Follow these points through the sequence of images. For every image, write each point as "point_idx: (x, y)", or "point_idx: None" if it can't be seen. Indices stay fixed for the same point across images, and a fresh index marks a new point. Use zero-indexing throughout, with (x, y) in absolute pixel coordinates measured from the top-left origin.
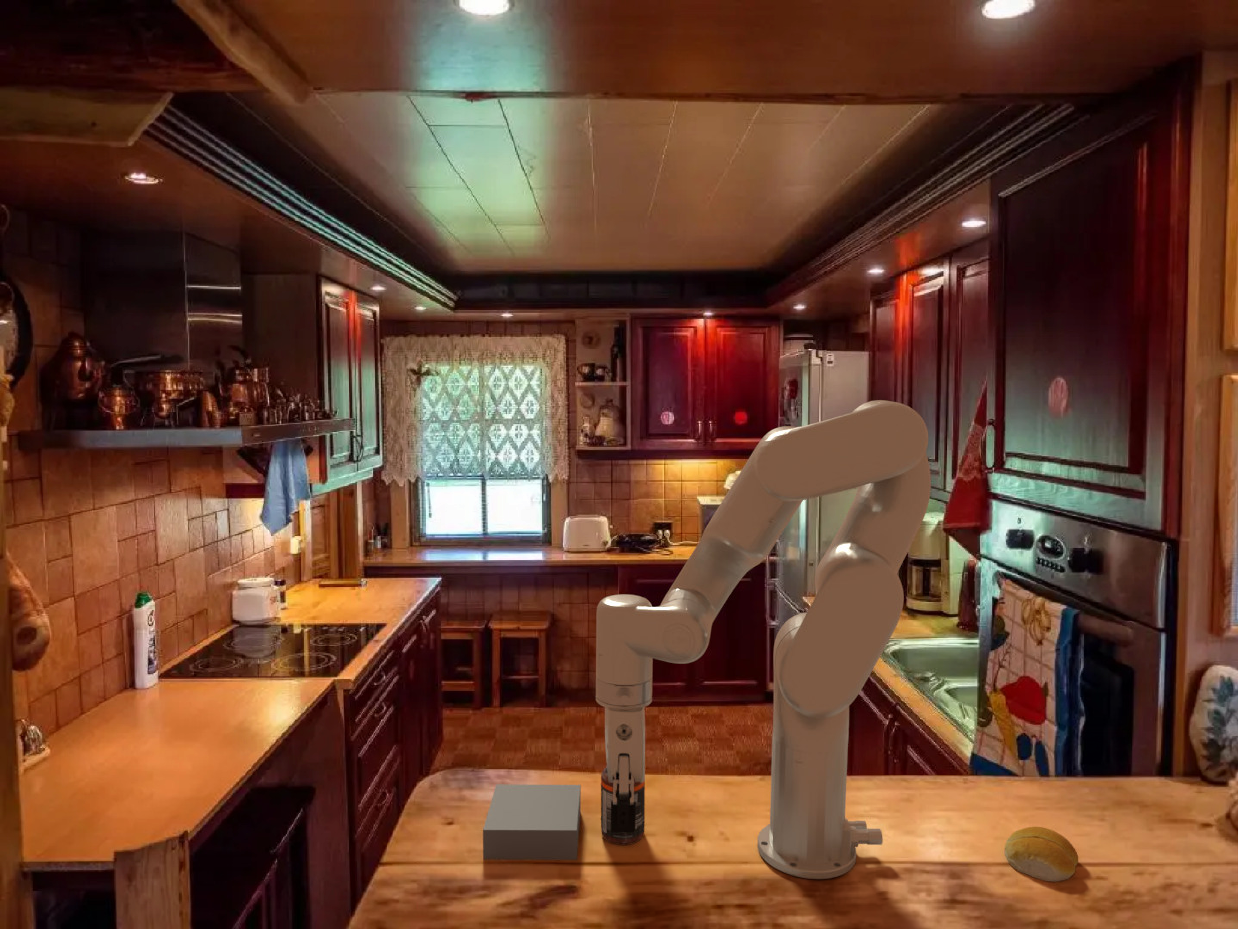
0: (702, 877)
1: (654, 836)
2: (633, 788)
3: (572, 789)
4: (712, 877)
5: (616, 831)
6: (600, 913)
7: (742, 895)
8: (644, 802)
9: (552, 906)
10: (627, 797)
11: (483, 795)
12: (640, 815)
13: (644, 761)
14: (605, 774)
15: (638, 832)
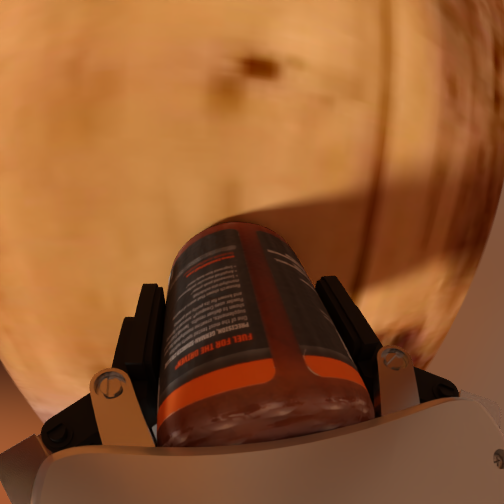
0: (437, 92)
1: (243, 185)
2: (418, 400)
3: (155, 429)
4: (438, 69)
5: None
6: (460, 292)
7: (479, 42)
8: (255, 281)
9: (422, 349)
10: (466, 394)
11: None
12: (301, 277)
13: (500, 482)
14: None
15: (292, 251)
